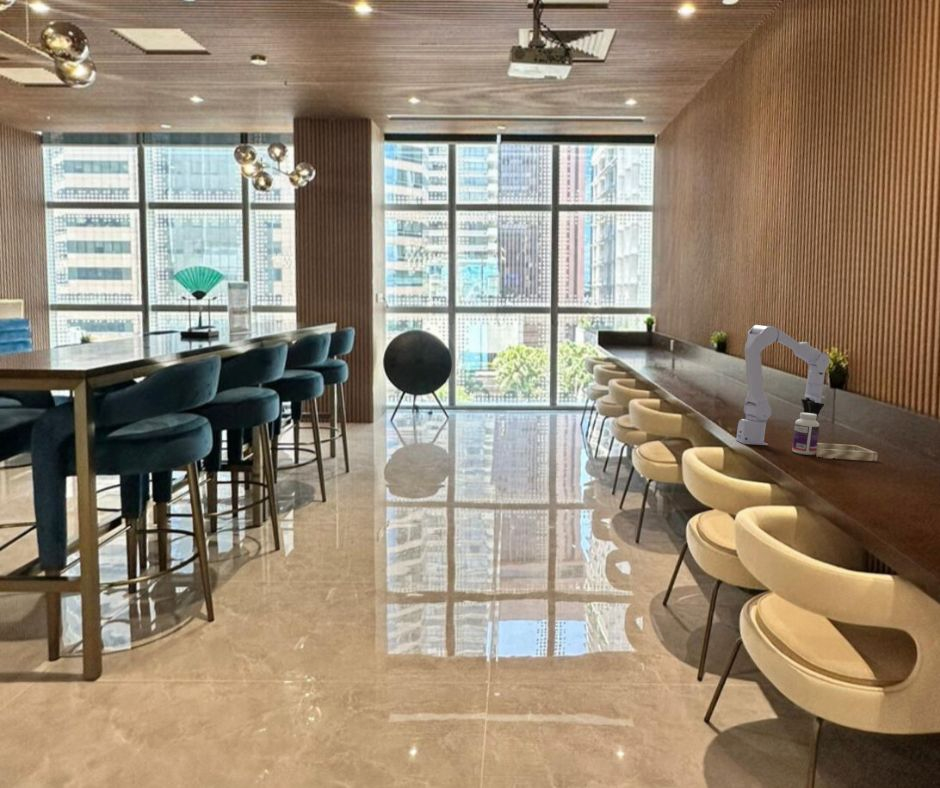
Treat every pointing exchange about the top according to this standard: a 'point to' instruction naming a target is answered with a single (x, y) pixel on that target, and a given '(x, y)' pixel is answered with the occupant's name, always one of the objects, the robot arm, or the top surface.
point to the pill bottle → (806, 434)
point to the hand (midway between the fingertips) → (810, 419)
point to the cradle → (845, 452)
